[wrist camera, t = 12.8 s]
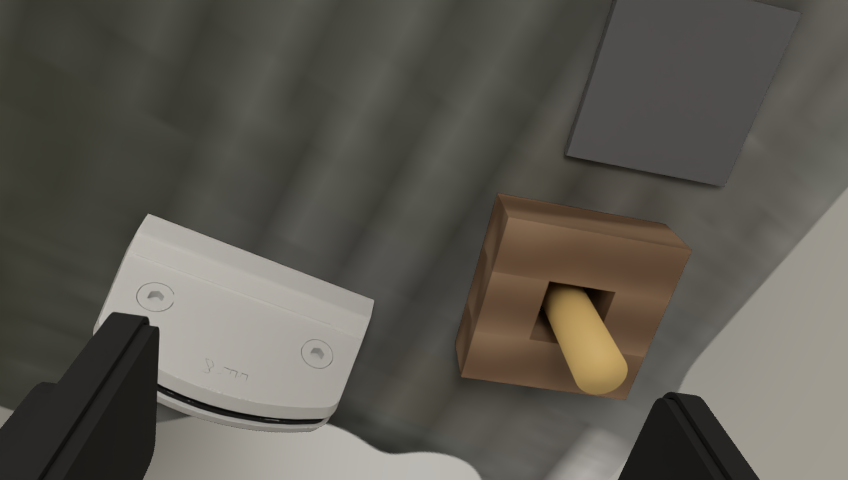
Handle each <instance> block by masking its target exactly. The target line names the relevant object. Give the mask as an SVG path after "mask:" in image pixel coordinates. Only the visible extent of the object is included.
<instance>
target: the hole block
mask: <svg viewBox="0 0 848 480" xmlns="http://www.w3.org/2000/svg"><path fill="white" fill-rule="evenodd" d="M691 252H692V250H691V249H690V248H689V247H688V246H687V245H686V244H685V243H684V242H683V241H682V240H681V239H680V238H679V237H678V236H677V235H676V234H675V233H674V232H673V231H672V230H671V229H670V228H669V227H668V226H667V225H666V224H661V223H655V222H650V221H645V220H639V219H634V218H629V217H623V216H618V215H612V214H607V213H602V212H596V211H591V210H586V209H580V208H575V207H569V206H564V205H559V204H553V203H548V202H543V201H537V200H532V199H526V198H521V197H516V196H510V195H505V194H500V193H497V197H496V200H495V204H494V207H493V211H492V214H491V218H490V221H489V225H488V228H487V232H486V235H485V239H484V242H483V246H482V249H481V253H480V257H479V260H478V264H477V267H476V271H475V274H474V278H473V281H472V285H471V288H470V292H469V295H468V299H467V302H466V306H465V309H464V313H463V316H462V320H461V323H460V327H459V330H458V334H457V337H456V341H455V345H456V351H457V357H458V362H459V368H460V374H461V377H465V378H472V379H479V380H486V381H494V382H501V383H508V384H515V385H522V386H529V387H536V388H543V389H551V390H558V391H565V392H572V393H579V394H586V395H593V396H600V397H608V398H615V399H622V400H626V398H627V395H628V393H629V391H630V389H631V386H632V384H633V382H634V380H635V377H636V375H637V373H638V371H639V368H640V366H641V364H642V362H643V359H644V357H645V355H646V353H647V350H648V348H649V346H650V344H651V341H652V339H653V337H654V335H655V332H656V330H657V328H658V326H659V323H660V321H661V319H662V317H663V315H664V312H665V310H666V308H667V306H668V303H669V301H670V299H671V297H672V294H673V292H674V290H675V288H676V285H677V283H678V281H679V279H680V276H681V274H682V272H683V270H684V267H685V265H686V263H687V261H688V258H689V256H690V254H691ZM549 281H552V282H558V283H564V284H570V285H576V286H582V287H587V289H586V294H587V296H588V297H589V299H590V301H591V303H592V304H593V306H594V308H595V309H596V311H597V313H598V315H599V316H600V318H601V320H602V322H603V323H604V325H605V327H606V328H607V330H608V332H609V334H610V335H611V337H612V339H613V340H614V342H615V344H616V346H617V347H618V349H619V351H620V353H621V354H622V356H623V358H624V359H625V361H626V363H627V368H628V372H627V376H626V378H625V380H624V381H623V383H622V384H621V385H620V386H619V387H617V388H616V389H615V390H613V391H611V392H608V393H605V394H597V395H595V394H589V393H586V392H584V391H583V390H581V389H580V388H579V387H578V386H577V384H576V382H575V379H574V377H573V375H572V373H571V370H570V368H569V366H568V363H567V361H566V359H565V356H564V354H563V352H562V350H561V347H560V345H559V343H558V340H557V338H556V336H555V333H554V331H553V329H552V327H551V324H550V322H549V320H548V317H547V315H546V313H545V312H542V311H539V310H540V307H541V304H542V301H543V298H544V295H545V293H546V290H547V287H548V284H549Z"/></svg>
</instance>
